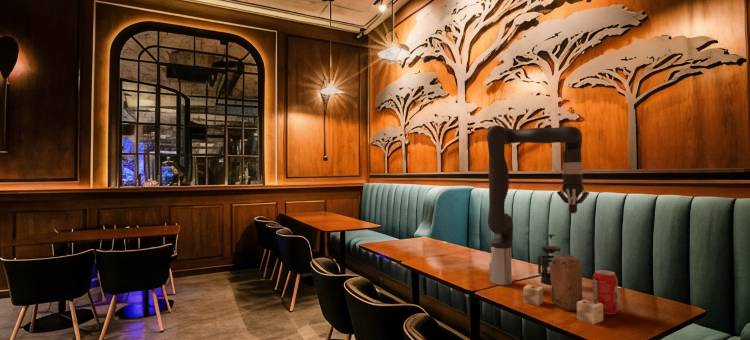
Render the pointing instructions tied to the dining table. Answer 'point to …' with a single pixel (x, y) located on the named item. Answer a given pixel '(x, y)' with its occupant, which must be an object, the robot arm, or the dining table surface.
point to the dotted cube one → (533, 295)
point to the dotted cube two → (590, 311)
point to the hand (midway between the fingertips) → (573, 213)
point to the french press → (546, 249)
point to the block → (566, 281)
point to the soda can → (606, 290)
